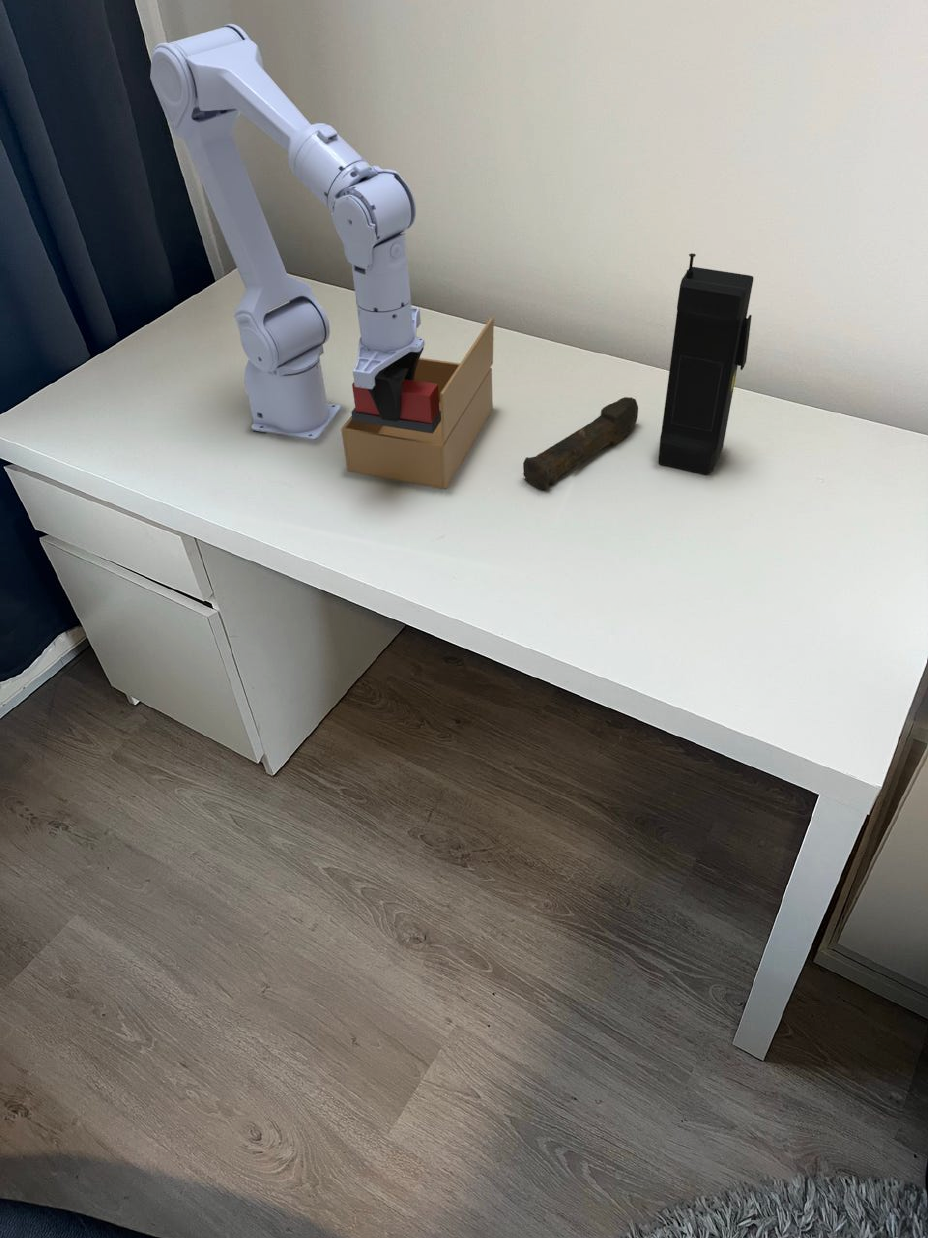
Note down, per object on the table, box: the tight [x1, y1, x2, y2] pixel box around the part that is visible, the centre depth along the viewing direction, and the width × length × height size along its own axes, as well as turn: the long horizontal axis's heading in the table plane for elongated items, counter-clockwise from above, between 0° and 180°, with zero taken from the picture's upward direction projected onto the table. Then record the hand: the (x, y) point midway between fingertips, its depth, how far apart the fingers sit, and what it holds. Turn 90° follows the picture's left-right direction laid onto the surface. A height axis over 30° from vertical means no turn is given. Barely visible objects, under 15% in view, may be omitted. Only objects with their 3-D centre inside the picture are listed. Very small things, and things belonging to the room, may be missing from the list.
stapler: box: [350, 379, 441, 434], centre depth 107 cm, size 10×3×5 cm, turn 71°
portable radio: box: [658, 253, 754, 475], centre depth 105 cm, size 8×6×25 cm
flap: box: [440, 316, 495, 442], centre depth 110 cm, size 18×6×1 cm
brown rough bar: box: [522, 396, 639, 491], centre depth 114 cm, size 19×4×5 cm, turn 131°
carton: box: [340, 357, 494, 490], centre depth 117 cm, size 18×13×6 cm
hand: (395, 411), depth 108 cm, fingers closed on stapler, 2 cm apart
